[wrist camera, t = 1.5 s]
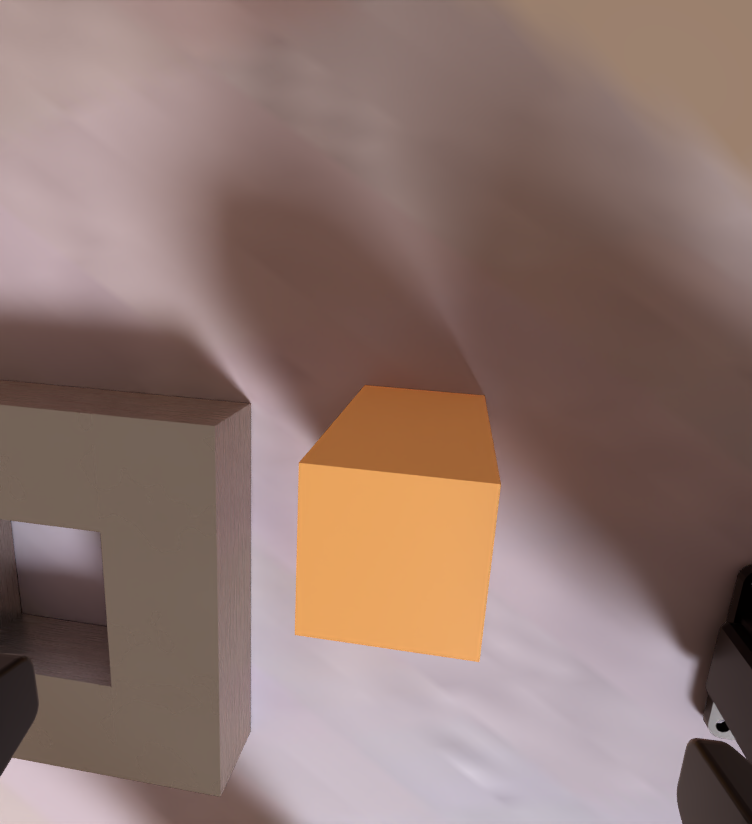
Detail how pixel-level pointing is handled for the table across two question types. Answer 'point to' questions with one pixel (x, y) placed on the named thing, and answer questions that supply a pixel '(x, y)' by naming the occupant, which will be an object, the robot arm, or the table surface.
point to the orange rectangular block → (399, 524)
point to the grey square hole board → (135, 579)
